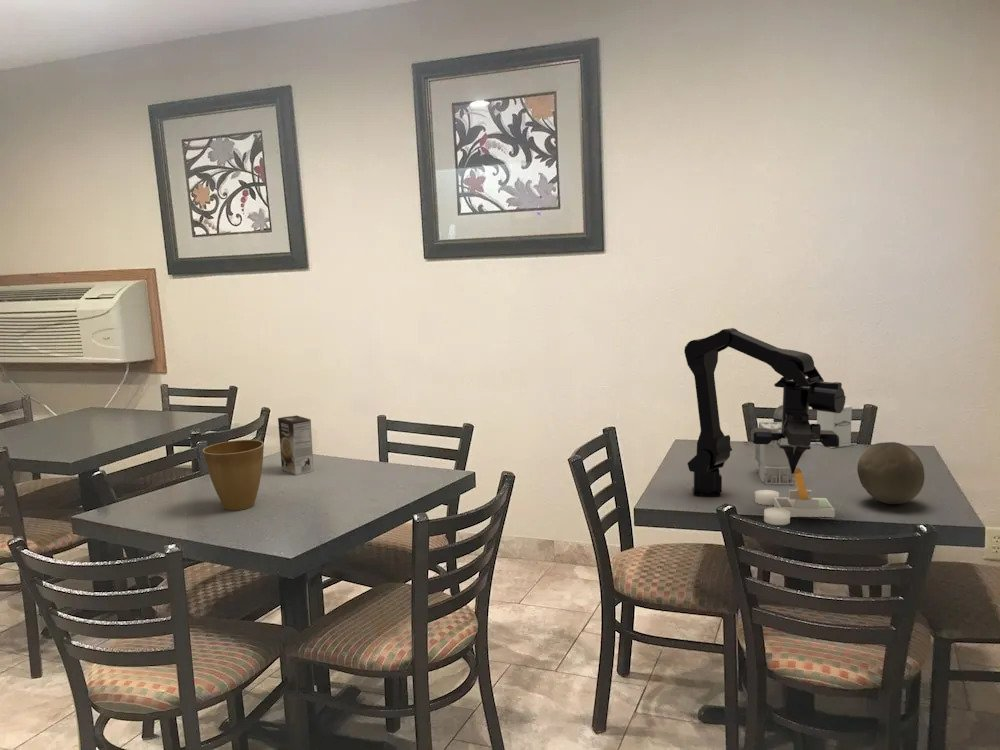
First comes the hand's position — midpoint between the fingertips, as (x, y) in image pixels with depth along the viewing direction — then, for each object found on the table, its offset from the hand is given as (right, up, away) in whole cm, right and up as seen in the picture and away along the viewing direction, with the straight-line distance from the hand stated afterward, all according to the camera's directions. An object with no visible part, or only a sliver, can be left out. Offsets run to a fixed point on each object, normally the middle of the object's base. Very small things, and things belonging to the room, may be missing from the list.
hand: (792, 473), depth 188 cm
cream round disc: (-5, -10, -5) cm, 13 cm away
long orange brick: (+3, -6, +1) cm, 7 cm away
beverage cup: (+17, -1, +52) cm, 54 cm away
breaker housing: (+3, -9, +1) cm, 10 cm away
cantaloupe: (+25, -8, +4) cm, 26 cm away
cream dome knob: (-3, -8, +9) cm, 13 cm away
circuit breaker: (+6, -5, +31) cm, 32 cm away
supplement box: (+36, +1, +64) cm, 73 cm away
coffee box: (-129, -6, +54) cm, 140 cm away
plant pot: (-136, -11, +20) cm, 138 cm away
